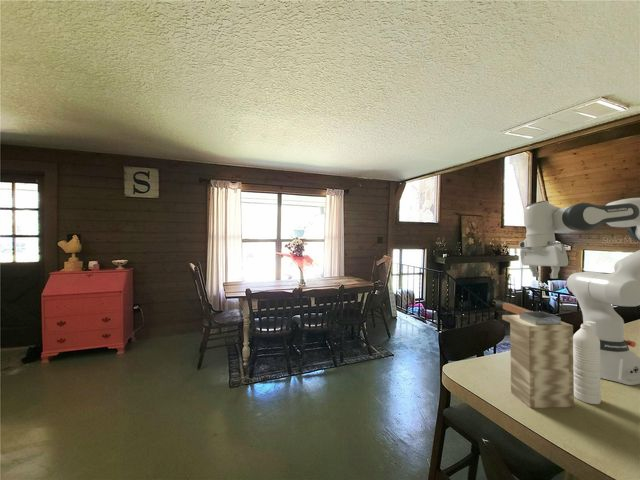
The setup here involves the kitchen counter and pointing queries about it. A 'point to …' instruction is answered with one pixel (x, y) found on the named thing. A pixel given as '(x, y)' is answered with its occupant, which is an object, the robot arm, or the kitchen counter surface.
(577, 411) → the kitchen counter surface
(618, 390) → the kitchen counter surface
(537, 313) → the shovel
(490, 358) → the kitchen counter surface
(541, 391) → the stand
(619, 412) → the kitchen counter surface
